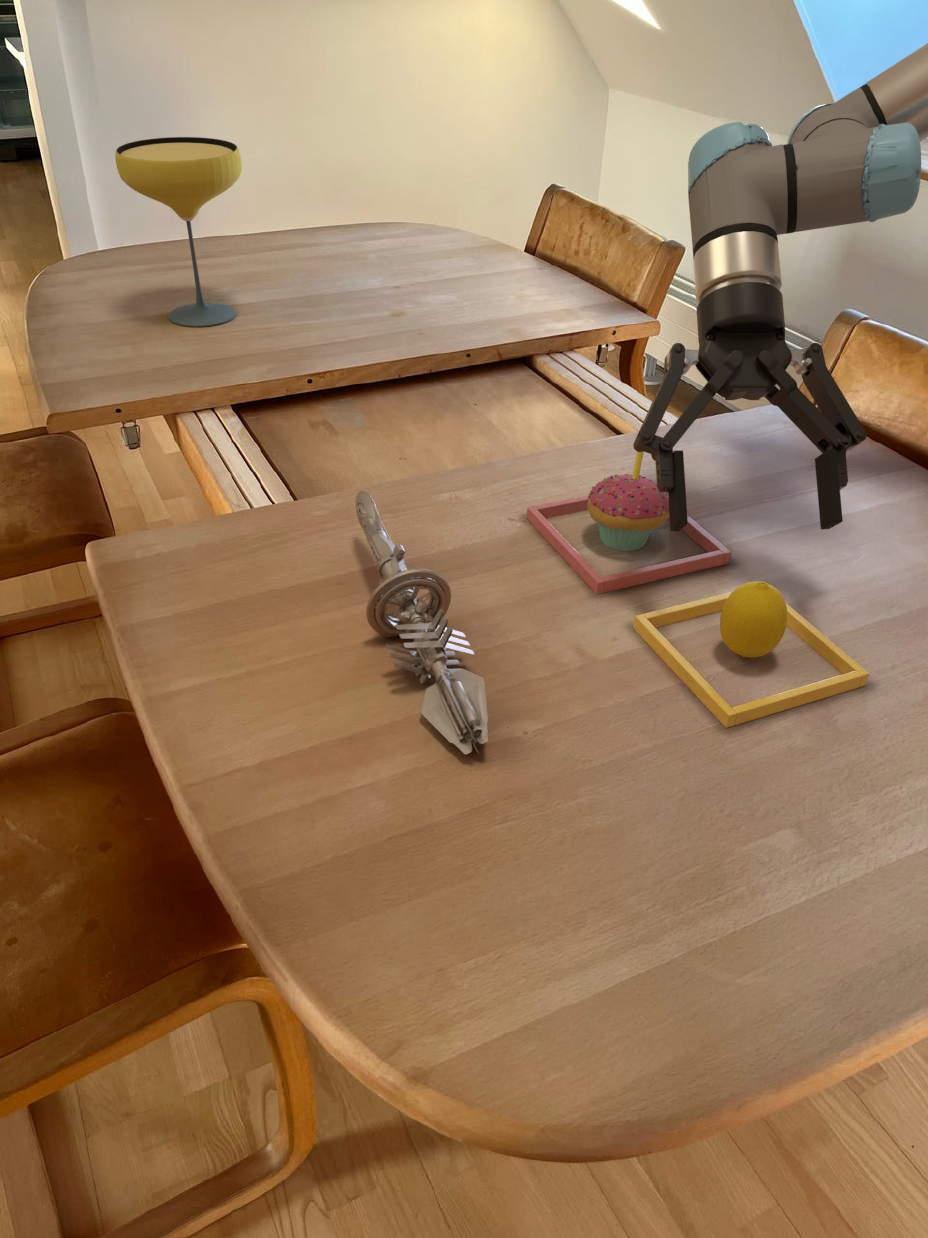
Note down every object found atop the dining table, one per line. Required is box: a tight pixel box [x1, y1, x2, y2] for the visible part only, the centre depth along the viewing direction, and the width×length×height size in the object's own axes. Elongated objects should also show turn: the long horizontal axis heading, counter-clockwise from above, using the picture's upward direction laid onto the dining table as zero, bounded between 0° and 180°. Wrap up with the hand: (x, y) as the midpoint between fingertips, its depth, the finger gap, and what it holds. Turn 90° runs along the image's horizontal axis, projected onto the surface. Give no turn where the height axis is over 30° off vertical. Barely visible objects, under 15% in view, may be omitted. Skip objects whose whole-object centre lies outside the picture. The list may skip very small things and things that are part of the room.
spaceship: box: [355, 490, 489, 755], centre depth 84 cm, size 8×35×8 cm
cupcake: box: [587, 451, 669, 552], centre depth 96 cm, size 9×8×12 cm
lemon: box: [719, 580, 787, 658], centre depth 82 cm, size 6×6×8 cm
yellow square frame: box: [632, 591, 870, 728], centre depth 84 cm, size 15×15×2 cm
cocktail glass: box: [114, 136, 243, 328], centre depth 146 cm, size 18×18×25 cm
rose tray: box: [526, 495, 732, 595], centre depth 99 cm, size 16×16×2 cm
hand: (755, 527), depth 82 cm, fingers open, 13 cm apart
